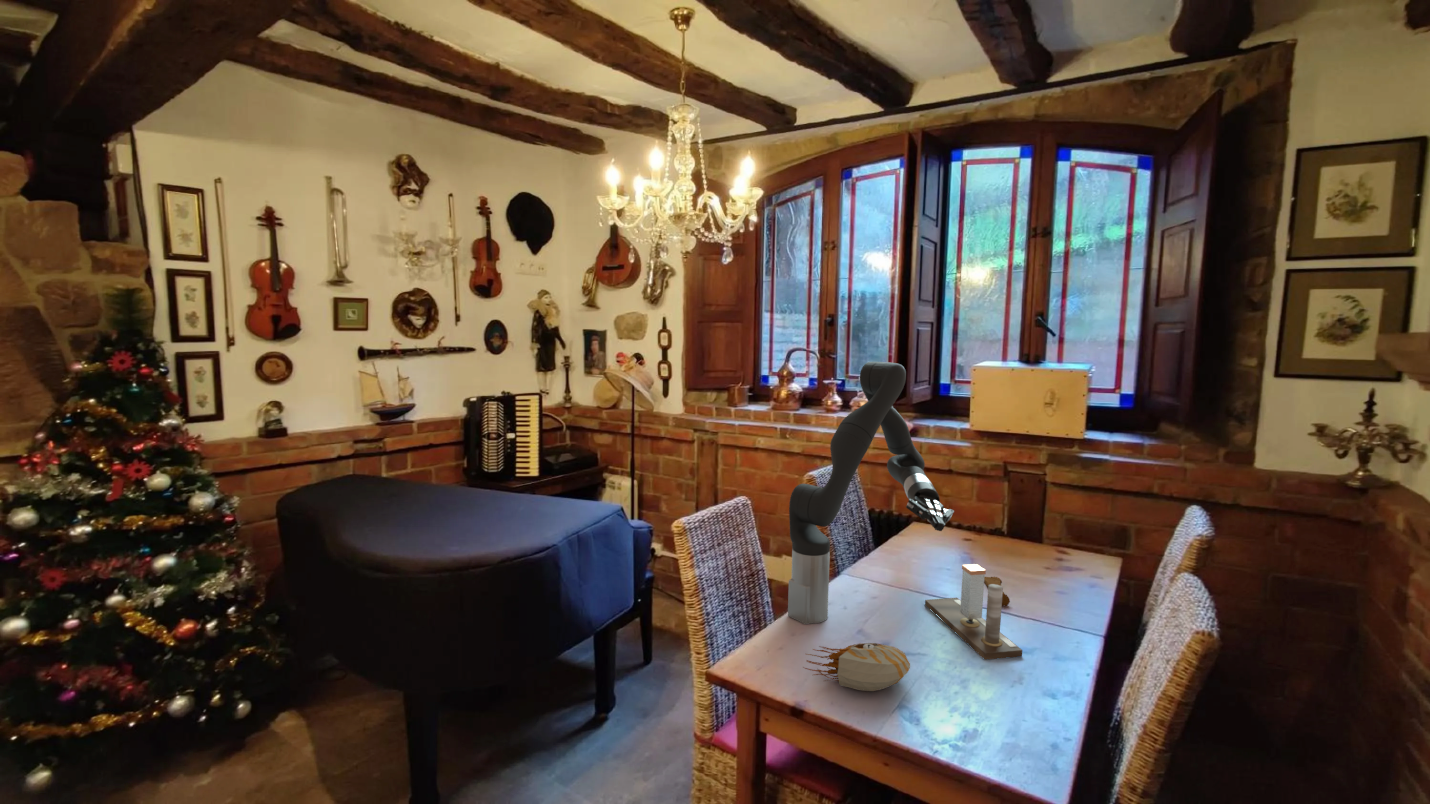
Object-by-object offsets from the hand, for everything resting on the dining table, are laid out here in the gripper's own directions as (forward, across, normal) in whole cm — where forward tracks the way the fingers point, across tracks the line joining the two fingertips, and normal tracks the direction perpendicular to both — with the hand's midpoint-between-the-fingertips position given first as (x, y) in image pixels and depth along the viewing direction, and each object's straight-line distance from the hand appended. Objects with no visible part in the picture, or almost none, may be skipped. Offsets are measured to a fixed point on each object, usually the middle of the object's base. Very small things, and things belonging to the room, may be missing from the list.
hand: (940, 527), depth 158 cm
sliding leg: (+12, +10, +16) cm, 23 cm away
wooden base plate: (+13, +11, +18) cm, 24 cm away
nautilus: (+35, -21, +21) cm, 46 cm away
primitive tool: (-9, +27, +20) cm, 35 cm away
